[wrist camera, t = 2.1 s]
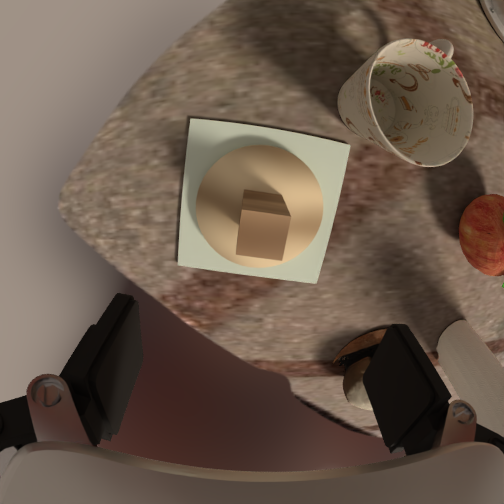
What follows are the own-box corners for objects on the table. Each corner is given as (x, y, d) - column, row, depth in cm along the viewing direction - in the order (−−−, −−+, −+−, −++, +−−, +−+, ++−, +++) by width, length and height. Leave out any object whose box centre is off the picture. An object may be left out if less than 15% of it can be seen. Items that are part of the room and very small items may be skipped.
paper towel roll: (462, 311, 32) (542, 420, 12) (471, 330, 34) (539, 429, 14) (425, 344, 34) (490, 464, 14) (437, 360, 36) (493, 467, 16)
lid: (205, 137, 23) (187, 141, 16) (331, 157, 24) (360, 169, 17) (193, 253, 28) (177, 294, 21) (306, 268, 28) (321, 312, 22)
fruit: (493, 177, 24) (552, 202, 15) (491, 248, 28) (539, 285, 19) (444, 190, 25) (506, 222, 16) (445, 267, 29) (493, 313, 20)
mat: (191, 118, 23) (190, 118, 22) (349, 144, 24) (350, 145, 23) (178, 263, 28) (177, 265, 28) (315, 281, 29) (316, 283, 29)
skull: (413, 310, 30) (440, 386, 26) (396, 321, 39) (417, 380, 35) (322, 350, 32) (349, 428, 27) (324, 352, 41) (345, 412, 37)
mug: (306, 113, 23) (340, 105, 13) (374, 20, 18) (427, -16, 9) (377, 167, 24) (436, 193, 15) (436, 76, 20) (504, 69, 11)
